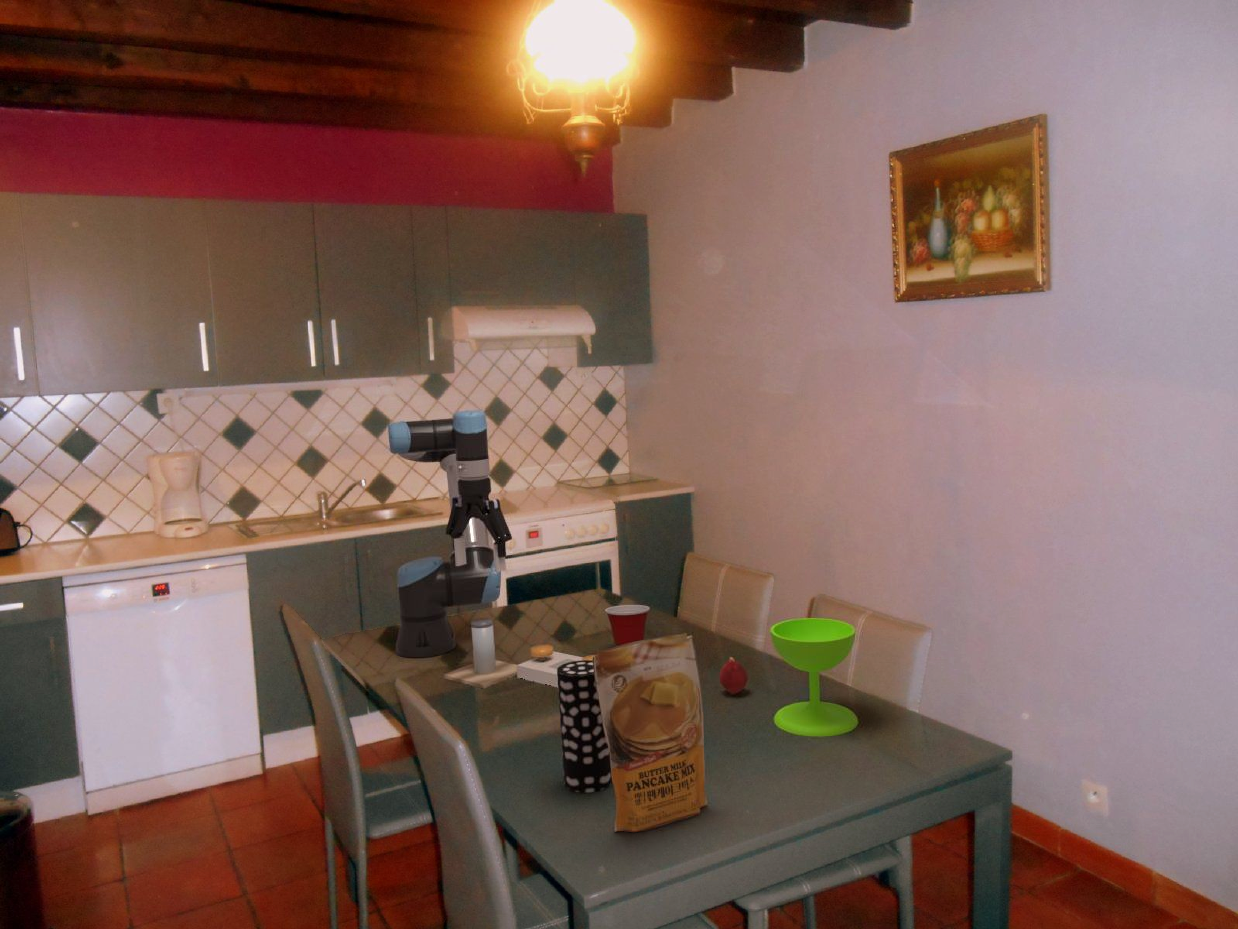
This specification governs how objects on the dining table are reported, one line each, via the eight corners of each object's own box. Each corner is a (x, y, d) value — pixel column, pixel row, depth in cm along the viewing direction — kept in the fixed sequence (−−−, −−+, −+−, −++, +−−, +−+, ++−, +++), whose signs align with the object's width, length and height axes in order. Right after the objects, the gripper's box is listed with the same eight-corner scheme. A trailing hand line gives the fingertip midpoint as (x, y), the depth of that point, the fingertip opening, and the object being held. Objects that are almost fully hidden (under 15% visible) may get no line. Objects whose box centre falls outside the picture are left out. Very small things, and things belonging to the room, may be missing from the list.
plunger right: (578, 679, 208) (577, 659, 207) (593, 672, 212) (592, 653, 211) (596, 683, 204) (595, 663, 204) (611, 676, 208) (610, 657, 208)
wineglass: (809, 743, 170) (805, 647, 168) (757, 716, 184) (753, 627, 182) (876, 724, 177) (873, 631, 175) (821, 699, 191) (818, 613, 189)
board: (443, 678, 218) (442, 674, 218) (487, 661, 229) (487, 658, 229) (484, 688, 209) (483, 685, 209) (528, 670, 220) (527, 667, 220)
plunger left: (527, 667, 218) (525, 649, 217) (542, 661, 222) (541, 643, 221) (543, 671, 214) (542, 652, 214) (558, 665, 218) (557, 646, 218)
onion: (751, 691, 198) (749, 654, 197) (743, 700, 193) (741, 663, 192) (725, 688, 201) (723, 652, 200) (716, 697, 196) (714, 660, 195)
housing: (517, 678, 215) (516, 665, 215) (553, 663, 224) (552, 651, 224) (586, 694, 202) (585, 680, 202) (620, 678, 211) (620, 665, 211)
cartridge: (470, 672, 219) (466, 622, 217) (485, 666, 222) (482, 617, 221) (484, 676, 215) (481, 625, 214) (500, 669, 219) (497, 620, 218)
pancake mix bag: (593, 823, 145) (583, 647, 142) (700, 792, 153) (691, 626, 150) (612, 842, 139) (601, 659, 136) (721, 809, 147) (713, 636, 144)
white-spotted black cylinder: (563, 773, 163) (556, 662, 161) (611, 769, 164) (604, 658, 162) (564, 795, 155) (557, 678, 153) (614, 790, 156) (607, 674, 153)
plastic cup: (653, 648, 232) (650, 600, 231) (650, 662, 221) (648, 612, 220) (610, 649, 233) (607, 602, 232) (605, 663, 222) (602, 613, 221)
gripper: (426, 477, 220) (433, 565, 223) (498, 482, 204) (505, 577, 207) (451, 473, 226) (457, 559, 229) (523, 477, 210) (529, 570, 213)
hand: (480, 568), depth 218 cm, fingers open, 13 cm apart
